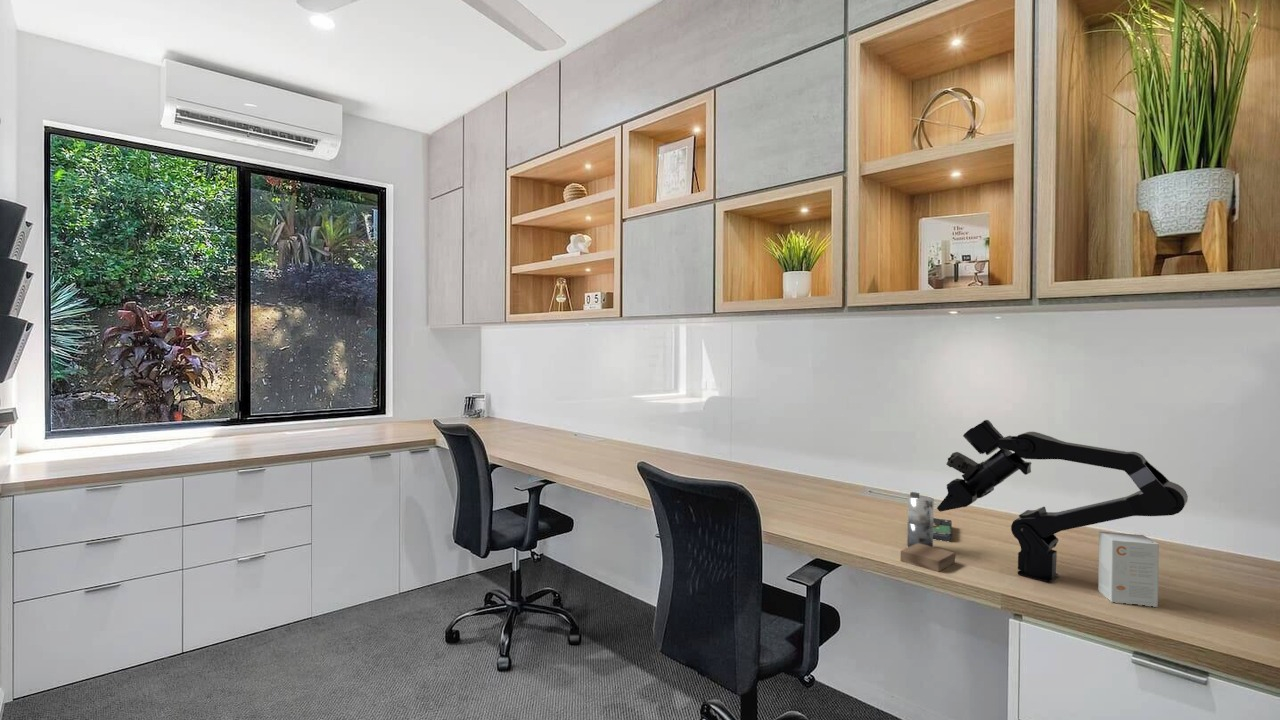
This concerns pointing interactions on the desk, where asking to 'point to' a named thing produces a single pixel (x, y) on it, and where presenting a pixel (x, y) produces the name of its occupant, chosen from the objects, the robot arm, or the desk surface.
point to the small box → (1128, 568)
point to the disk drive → (942, 529)
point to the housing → (920, 520)
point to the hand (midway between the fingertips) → (944, 506)
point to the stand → (927, 557)
